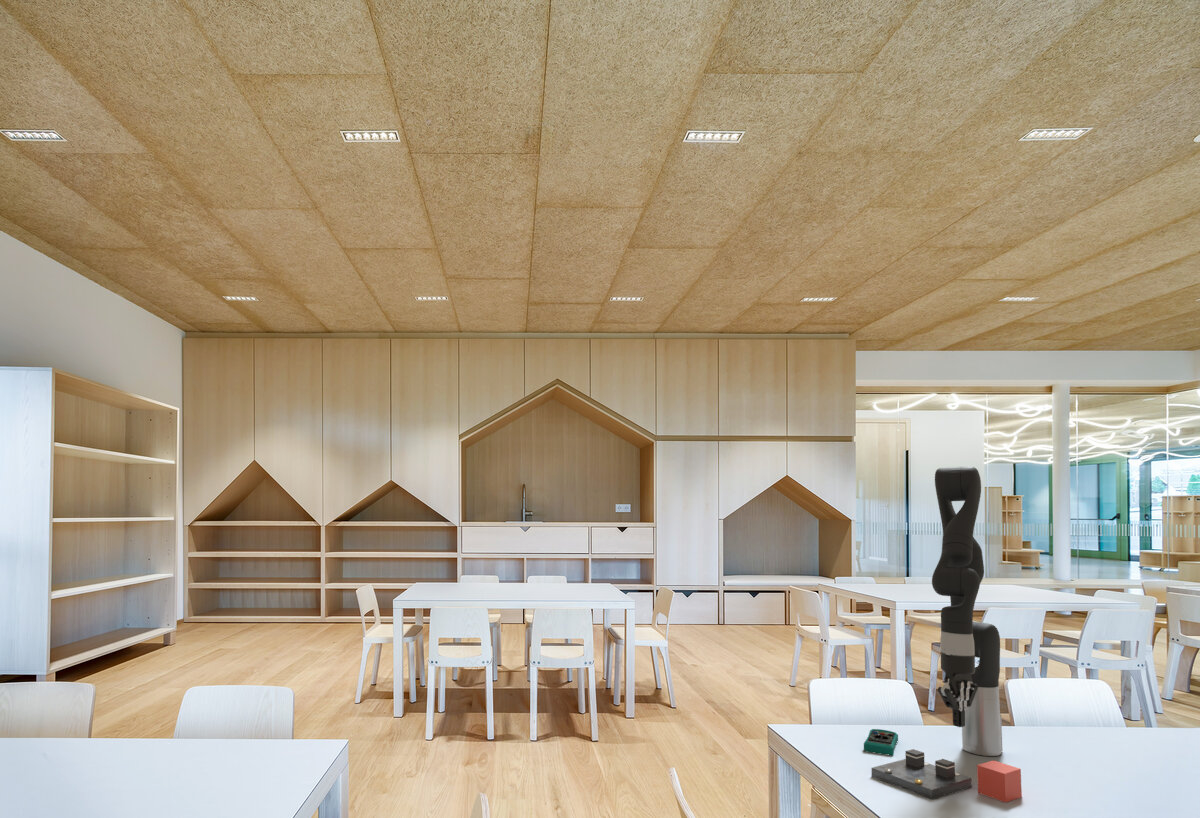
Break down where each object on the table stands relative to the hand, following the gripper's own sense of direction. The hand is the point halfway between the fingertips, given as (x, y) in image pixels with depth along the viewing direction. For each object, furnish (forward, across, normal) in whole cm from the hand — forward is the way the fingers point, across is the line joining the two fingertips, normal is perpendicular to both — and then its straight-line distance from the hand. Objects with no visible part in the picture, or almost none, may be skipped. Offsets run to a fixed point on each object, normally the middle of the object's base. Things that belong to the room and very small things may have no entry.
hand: (959, 726), depth 184 cm
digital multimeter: (+13, -5, -26) cm, 29 cm away
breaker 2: (+10, +6, 0) cm, 12 cm away
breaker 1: (+10, +6, -8) cm, 14 cm away
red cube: (+12, +1, +10) cm, 16 cm away
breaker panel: (+12, +10, -4) cm, 16 cm away
